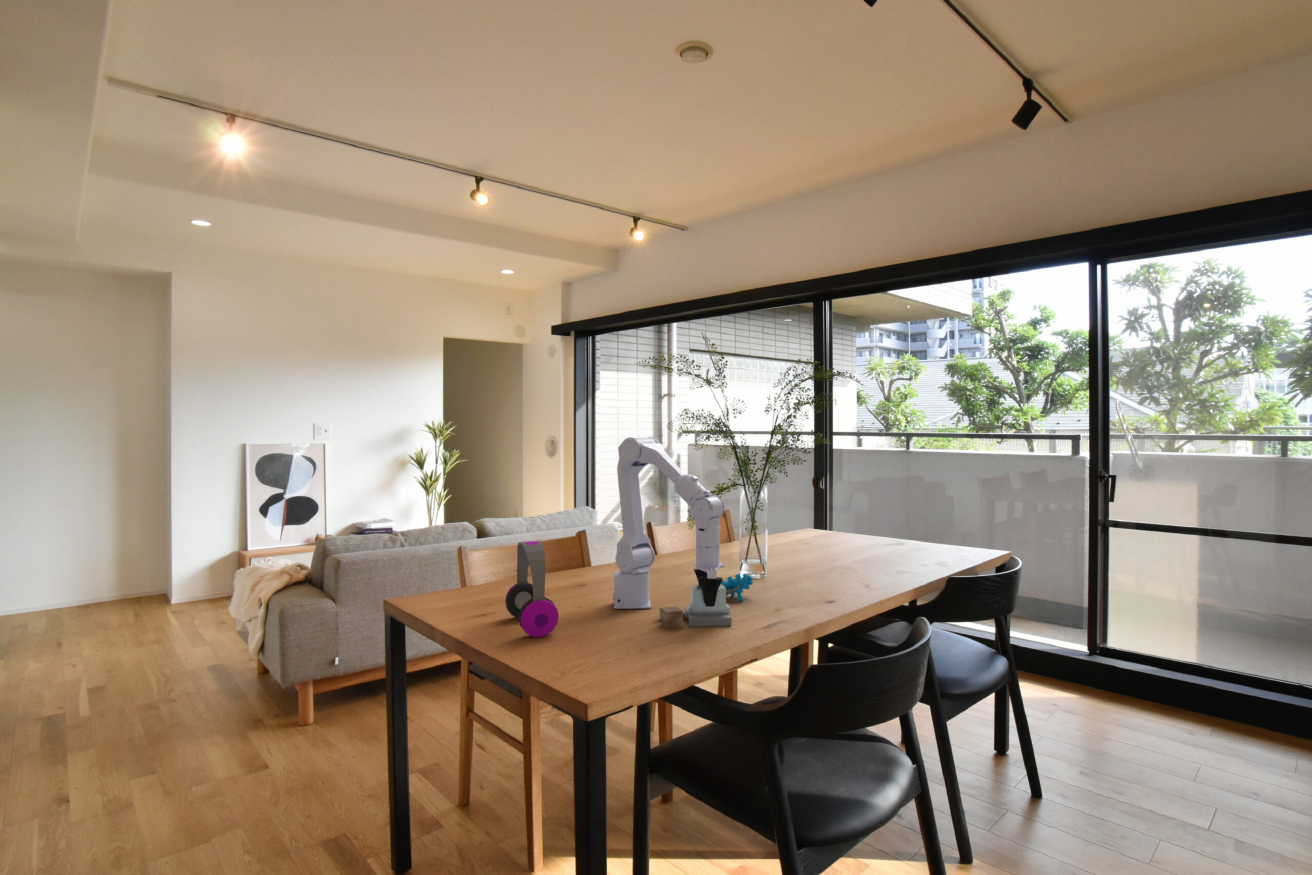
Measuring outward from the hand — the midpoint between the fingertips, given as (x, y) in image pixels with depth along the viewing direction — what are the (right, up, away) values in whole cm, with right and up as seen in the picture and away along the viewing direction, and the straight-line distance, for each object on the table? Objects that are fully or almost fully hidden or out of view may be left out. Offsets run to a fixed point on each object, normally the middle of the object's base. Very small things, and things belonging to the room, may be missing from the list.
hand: (707, 602), depth 164 cm
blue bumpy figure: (+9, -5, +21) cm, 23 cm away
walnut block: (-9, -5, -5) cm, 11 cm away
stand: (0, -4, 0) cm, 4 cm away
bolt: (-8, -4, 0) cm, 9 cm away
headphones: (-42, -5, -6) cm, 42 cm away
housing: (0, -2, 0) cm, 2 cm away
